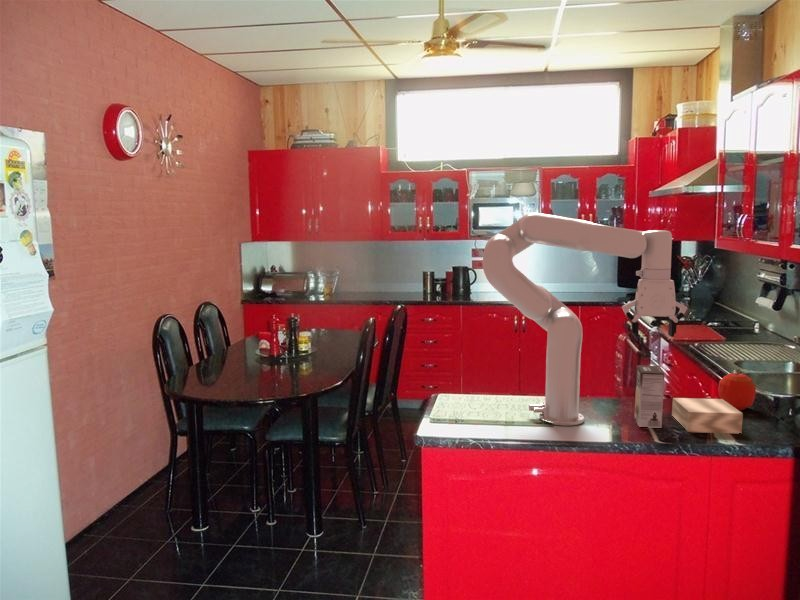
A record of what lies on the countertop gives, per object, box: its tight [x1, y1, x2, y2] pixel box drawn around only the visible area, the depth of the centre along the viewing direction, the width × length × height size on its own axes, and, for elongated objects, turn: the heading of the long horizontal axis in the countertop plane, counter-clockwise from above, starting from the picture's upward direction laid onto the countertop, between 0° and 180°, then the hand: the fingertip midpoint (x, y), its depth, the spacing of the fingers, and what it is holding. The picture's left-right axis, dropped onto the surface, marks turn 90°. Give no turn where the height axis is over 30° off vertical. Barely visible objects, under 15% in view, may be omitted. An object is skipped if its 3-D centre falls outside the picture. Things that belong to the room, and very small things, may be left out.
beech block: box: [671, 397, 744, 435], centre depth 184 cm, size 14×14×6 cm
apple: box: [717, 372, 757, 411], centre depth 200 cm, size 10×10×12 cm
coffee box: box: [634, 364, 666, 429], centre depth 184 cm, size 9×6×16 cm
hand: (653, 335), depth 182 cm, fingers open, 9 cm apart
